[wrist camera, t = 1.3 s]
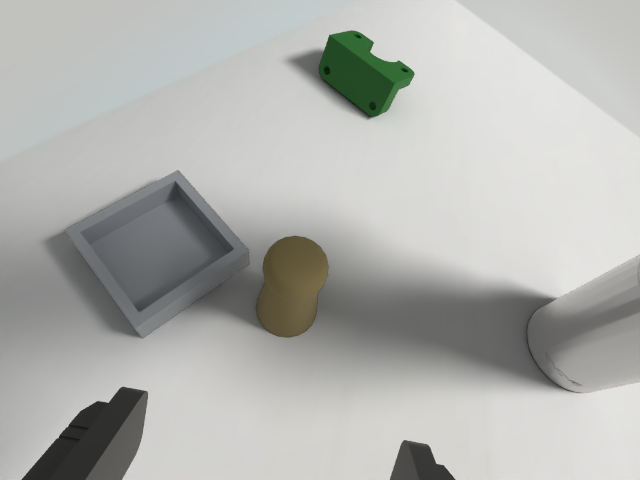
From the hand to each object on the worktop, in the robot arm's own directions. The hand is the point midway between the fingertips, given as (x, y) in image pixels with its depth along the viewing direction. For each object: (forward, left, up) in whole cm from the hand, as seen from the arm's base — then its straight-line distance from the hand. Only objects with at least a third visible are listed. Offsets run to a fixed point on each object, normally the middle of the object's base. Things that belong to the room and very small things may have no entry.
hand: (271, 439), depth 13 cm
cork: (-10, -8, -25) cm, 28 cm away
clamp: (-39, -26, -25) cm, 53 cm away
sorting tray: (-4, -20, -25) cm, 32 cm away
